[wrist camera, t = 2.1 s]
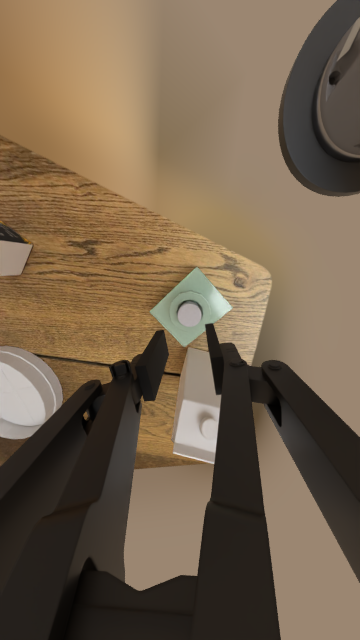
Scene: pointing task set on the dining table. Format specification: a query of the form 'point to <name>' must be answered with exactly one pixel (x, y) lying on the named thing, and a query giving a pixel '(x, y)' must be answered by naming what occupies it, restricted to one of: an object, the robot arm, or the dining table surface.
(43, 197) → the dining table surface
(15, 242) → the medicine bottle
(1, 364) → the dish
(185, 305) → the grey push button
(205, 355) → the milk carton
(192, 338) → the push button box
